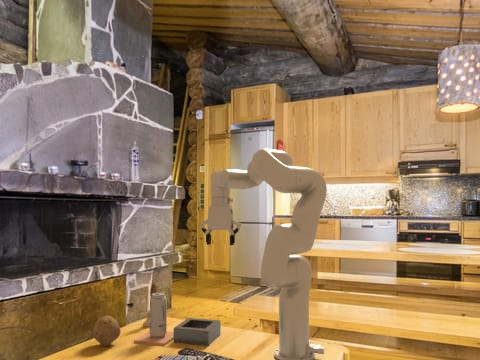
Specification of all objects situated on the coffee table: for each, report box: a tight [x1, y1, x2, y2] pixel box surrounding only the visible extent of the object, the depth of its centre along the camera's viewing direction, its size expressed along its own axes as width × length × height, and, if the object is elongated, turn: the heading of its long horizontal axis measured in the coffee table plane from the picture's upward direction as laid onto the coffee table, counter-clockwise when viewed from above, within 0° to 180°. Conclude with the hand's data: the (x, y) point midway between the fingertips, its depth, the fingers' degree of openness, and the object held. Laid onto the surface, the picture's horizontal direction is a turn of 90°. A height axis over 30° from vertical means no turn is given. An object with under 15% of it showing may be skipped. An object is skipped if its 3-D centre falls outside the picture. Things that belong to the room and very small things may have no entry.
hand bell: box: [142, 283, 158, 328], centre depth 158 cm, size 8×8×16 cm
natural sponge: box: [92, 315, 121, 347], centre depth 133 cm, size 9×9×10 cm
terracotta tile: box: [133, 330, 174, 346], centre depth 140 cm, size 12×12×1 cm
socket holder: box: [172, 317, 221, 347], centre depth 140 cm, size 13×13×5 cm
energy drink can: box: [149, 292, 168, 339], centre depth 140 cm, size 6×6×15 cm
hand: (220, 244), depth 154 cm, fingers open, 9 cm apart
